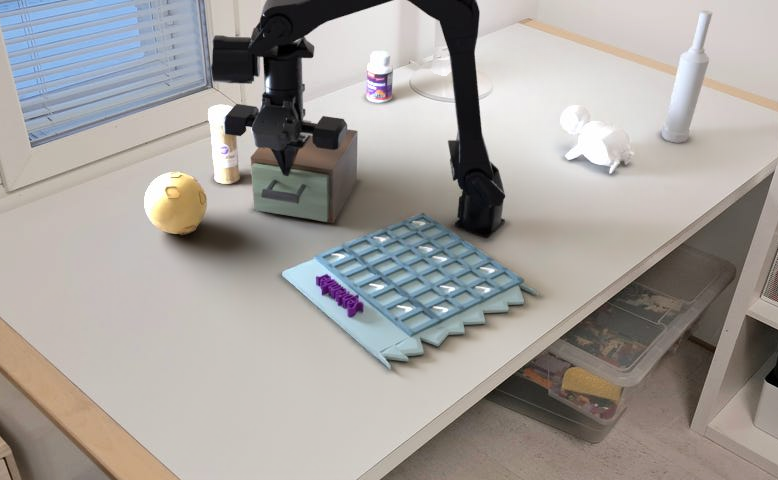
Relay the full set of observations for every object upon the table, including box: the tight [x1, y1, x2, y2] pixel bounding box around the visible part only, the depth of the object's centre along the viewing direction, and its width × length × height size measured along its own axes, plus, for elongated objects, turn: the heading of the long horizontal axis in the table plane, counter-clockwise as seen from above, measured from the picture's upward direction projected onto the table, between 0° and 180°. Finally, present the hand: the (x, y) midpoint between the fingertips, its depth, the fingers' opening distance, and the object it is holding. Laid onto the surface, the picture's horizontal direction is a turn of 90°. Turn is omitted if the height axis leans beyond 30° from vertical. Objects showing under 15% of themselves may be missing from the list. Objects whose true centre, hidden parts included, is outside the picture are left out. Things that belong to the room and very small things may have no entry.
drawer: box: [251, 163, 329, 223], centre depth 147 cm, size 18×13×8 cm
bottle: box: [661, 9, 713, 144], centre depth 166 cm, size 5×5×25 cm
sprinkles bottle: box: [207, 104, 241, 185], centre depth 153 cm, size 5×5×13 cm
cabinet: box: [250, 128, 359, 224], centre depth 150 cm, size 15×14×10 cm
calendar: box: [281, 212, 539, 370], centre depth 132 cm, size 27×28×2 cm
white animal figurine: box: [560, 104, 635, 174], centre depth 165 cm, size 9×8×15 cm
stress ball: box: [144, 171, 208, 236], centre depth 141 cm, size 10×10×10 cm
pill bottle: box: [366, 49, 394, 104], centre depth 183 cm, size 5×5×10 cm
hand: (286, 174), depth 141 cm, fingers closed
